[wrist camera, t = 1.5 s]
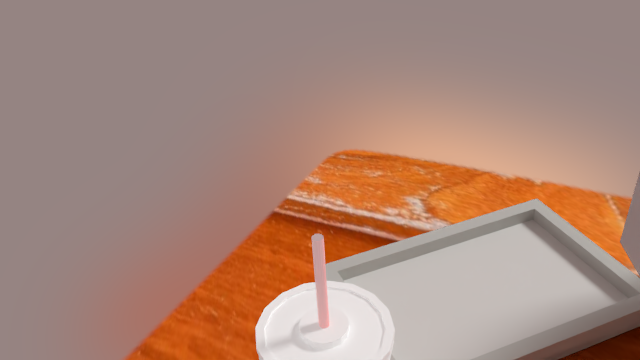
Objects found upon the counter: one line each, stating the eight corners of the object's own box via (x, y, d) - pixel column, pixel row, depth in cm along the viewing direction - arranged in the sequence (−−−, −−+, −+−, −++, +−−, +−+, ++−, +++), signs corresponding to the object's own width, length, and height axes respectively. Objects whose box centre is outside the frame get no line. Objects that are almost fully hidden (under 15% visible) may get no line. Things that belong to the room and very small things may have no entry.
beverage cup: (252, 478, 30) (208, 265, 23) (308, 386, 35) (287, 182, 27) (365, 531, 28) (357, 311, 20) (410, 424, 33) (417, 212, 25)
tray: (534, 215, 47) (536, 198, 46) (660, 318, 38) (666, 299, 37) (319, 284, 42) (317, 266, 41) (402, 422, 33) (402, 403, 32)
